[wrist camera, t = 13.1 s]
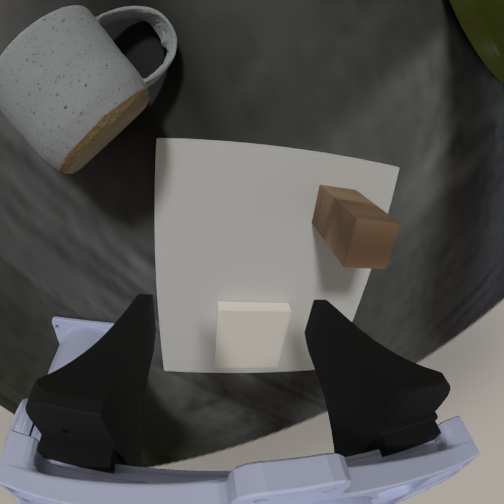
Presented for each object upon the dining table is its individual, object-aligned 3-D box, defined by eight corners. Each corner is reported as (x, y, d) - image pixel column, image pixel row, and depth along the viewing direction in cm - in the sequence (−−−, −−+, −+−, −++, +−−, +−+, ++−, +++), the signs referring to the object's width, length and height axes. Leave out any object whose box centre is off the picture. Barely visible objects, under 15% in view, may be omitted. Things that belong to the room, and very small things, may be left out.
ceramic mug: (91, 167, 19) (43, 203, 13) (28, 94, 16) (-37, 102, 9) (206, 65, 17) (206, 44, 11) (135, -11, 14) (104, -55, 7)
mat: (331, 365, 32) (332, 368, 32) (164, 367, 29) (164, 370, 29) (396, 166, 22) (399, 167, 22) (157, 137, 19) (156, 138, 19)
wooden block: (347, 226, 23) (385, 269, 18) (311, 222, 23) (343, 267, 17) (356, 189, 22) (400, 224, 16) (319, 184, 22) (357, 219, 16)
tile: (288, 302, 26) (274, 357, 29) (217, 300, 25) (213, 357, 29) (291, 311, 25) (277, 367, 28) (218, 310, 24) (214, 367, 27)
